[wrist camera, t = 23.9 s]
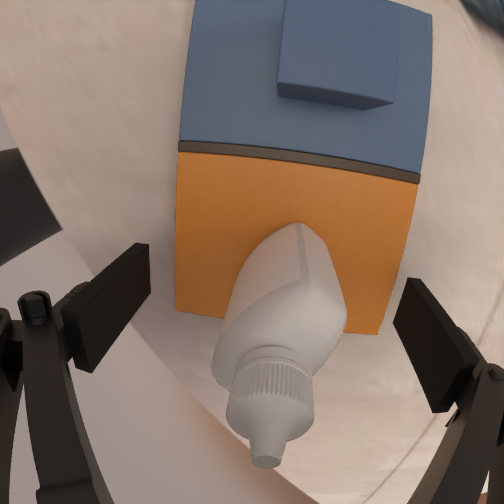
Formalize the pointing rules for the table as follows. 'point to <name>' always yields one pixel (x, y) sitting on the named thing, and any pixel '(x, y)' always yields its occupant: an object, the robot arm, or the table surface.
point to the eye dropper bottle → (278, 339)
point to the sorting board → (292, 162)
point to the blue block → (339, 52)
